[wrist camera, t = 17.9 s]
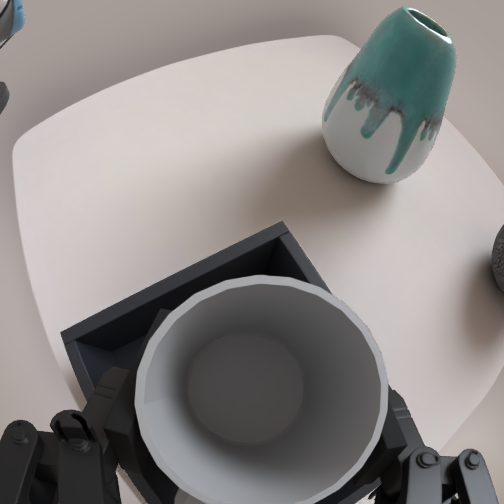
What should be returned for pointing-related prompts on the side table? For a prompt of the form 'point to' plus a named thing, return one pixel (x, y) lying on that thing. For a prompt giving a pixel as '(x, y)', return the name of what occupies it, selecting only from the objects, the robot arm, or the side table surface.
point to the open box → (170, 297)
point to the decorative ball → (499, 258)
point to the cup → (261, 393)
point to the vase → (391, 99)
